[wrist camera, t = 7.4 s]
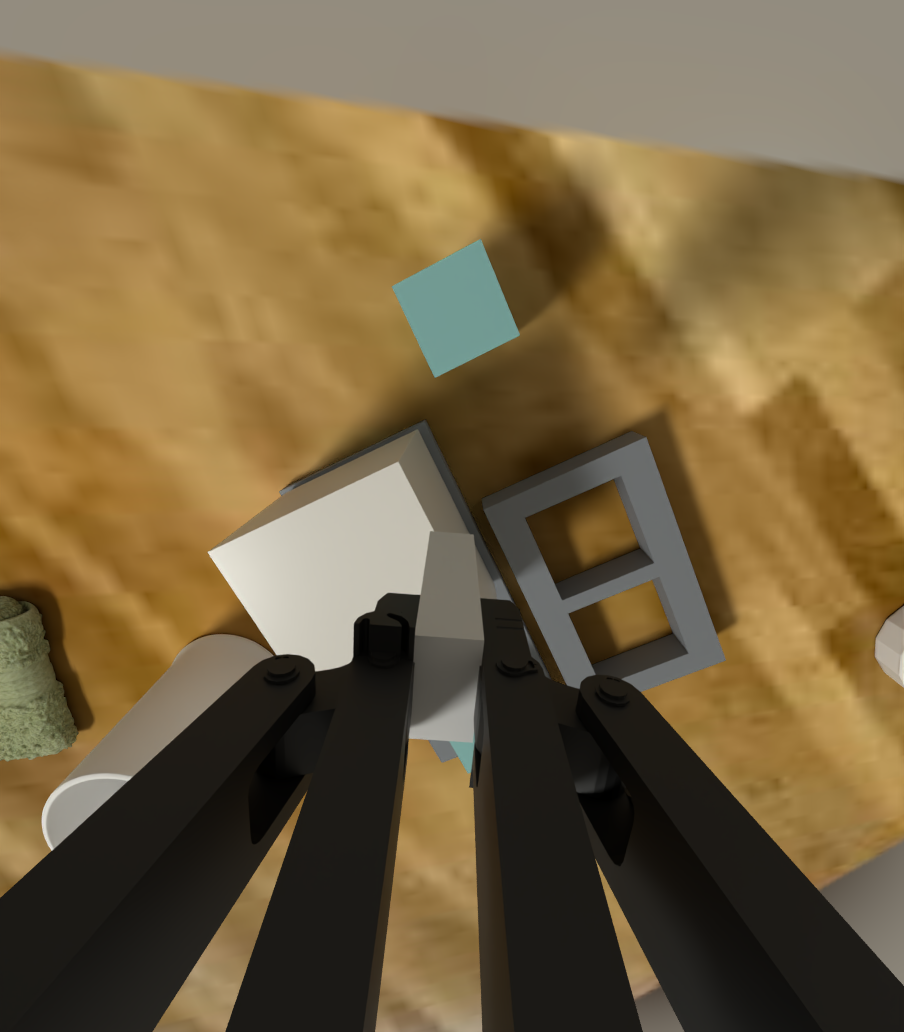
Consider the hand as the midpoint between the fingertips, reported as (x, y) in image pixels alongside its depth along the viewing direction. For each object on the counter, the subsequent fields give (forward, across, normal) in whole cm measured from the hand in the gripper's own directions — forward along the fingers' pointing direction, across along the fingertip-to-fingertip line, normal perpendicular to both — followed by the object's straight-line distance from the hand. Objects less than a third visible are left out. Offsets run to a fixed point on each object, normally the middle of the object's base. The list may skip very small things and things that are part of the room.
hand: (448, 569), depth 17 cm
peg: (+14, 0, +9) cm, 17 cm away
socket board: (+14, +10, -6) cm, 18 cm away
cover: (+13, -3, -4) cm, 14 cm away
